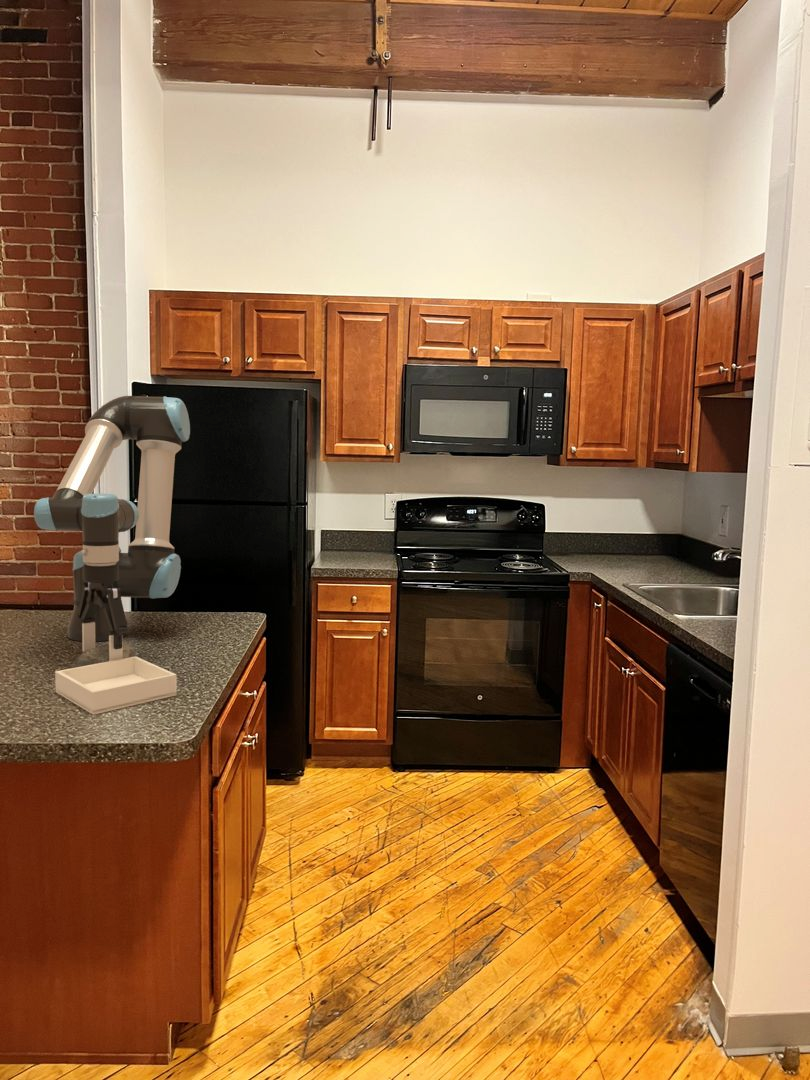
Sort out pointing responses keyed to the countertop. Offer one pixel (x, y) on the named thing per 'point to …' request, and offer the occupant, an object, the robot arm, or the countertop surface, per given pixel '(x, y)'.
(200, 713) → the countertop surface
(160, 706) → the countertop surface
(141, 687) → the dish
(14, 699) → the countertop surface
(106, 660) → the rock
